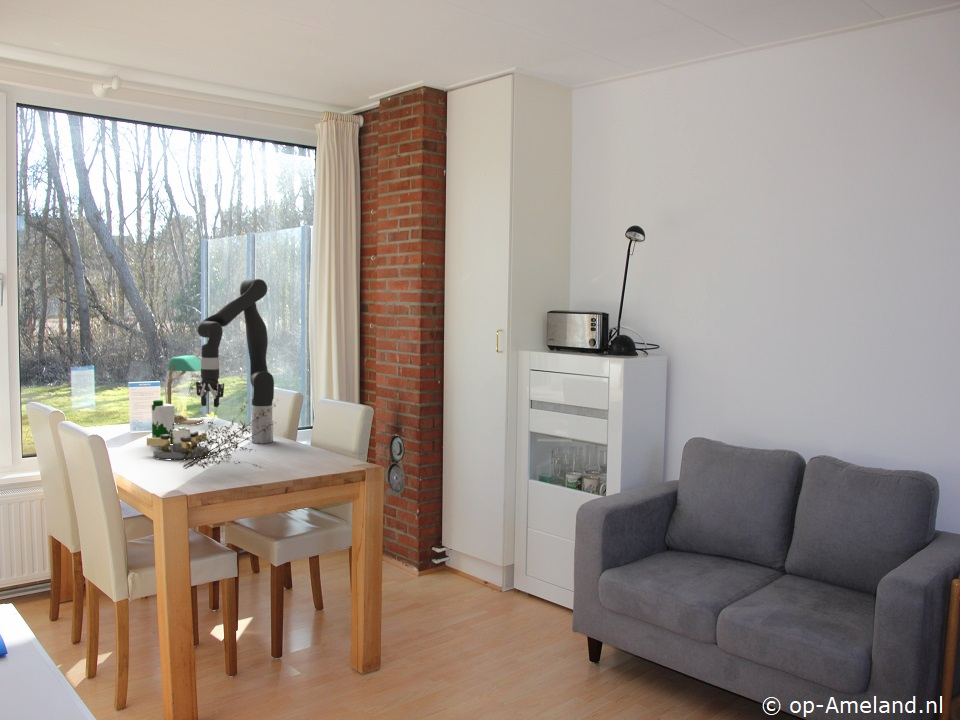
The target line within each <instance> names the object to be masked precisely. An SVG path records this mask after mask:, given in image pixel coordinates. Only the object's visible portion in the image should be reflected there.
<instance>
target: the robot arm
mask: <svg viewBox="0 0 960 720" xmlns="http://www.w3.org/2000/svg"><path fill="white" fill-rule="evenodd" d="M267 292H268V285H267V283H266V282H265V280H263V279H260V278H248V279H247V278H246V279H243V280H242V281H241V283H240V285H239V294H240V295H239V296H238V297H237V298H234V299H232V300H231V301H228V302H227V303H226V304H225V305H223V306H222V307H220V309H219V310H217V311H216V312H215V313H214V314H211V315H210V316H208V317H206V318H205V319H203V320H202V321H201V322H200V323H199V324H198V326H197V334H198V335H199V336H200V337H202V338H208V340H207V342H205V343H203V344H202V345H201V351H200V352H201V359H200V361H201V371H200V378H201V381H200V380H199V381H196V382H195V388H196V395H197V396H199V397H200V404H201V406H202V407H207V394H208V393H209V392H210V393H211V394H212V396H213V408H216V407H217V408H218V407H219V406H220V398H223V397H224V393H225V383H223V382H221V383H220V382H219V379H220V359H219V356H220V355H219V348H220V344H221V340H222V336H223V333H224V331H223V330H224V329H223V327H226V326H228V325H229V324H230V323H232V321H233V320H234V319H236V317H238V316H239V315H240V314H241V313H242V312H243V315H244V322H245V332H246V333H245V334H246V335H245V336H246V344H247V349H248V355H249V362H250V363H249V364H250V365H249V366H250V367H249V369H250V370H249V372H250V373H249V375H250V376H249V377H250V379H249V381H250V384H251V386H252V387H253V397H252V398H251V422H252V421H253V420H254V421H253V422H252V423H251V436H252V435H254V434H255V435H254V436H252V437H253V438H254V439H251V443H254V444H267V443H268V444H271V443H272V442H273V441H274V420H273V403H274V402H273V401H274V397H275V396H274V394H275V380H274V376H273V375H272V374H271V373H270V371H269V370H268V366H267V352H268V351H267V350H268V343H269V341H268V339H269V338H268V329H267V326H266V323H265V321H264V319H263V318H262V316H261V315H260V313H259V311H258V309H257V302H258V301H260V300H262V299H263V298H264V297H265V296H266V294H267ZM267 407H268V408H267ZM264 408H265V409H264ZM271 408H272V409H271ZM267 409H269V411H272V412H267ZM260 410H261V411H260ZM262 410H263V411H264V410H265V411H264V415H267V416H264V415H263V416H262V413H263V412H262ZM258 411H259V412H258ZM261 412H262V413H261ZM255 413H256V416H257V417H258V416H259V418H258V422H257V421H256V420H257V419H256V416H255ZM260 413H261V415H259V414H260ZM261 416H262V417H261ZM255 421H256V422H255ZM254 422H255V423H254ZM253 423H254V424H253ZM268 423H269V424H268ZM252 424H253V425H252ZM270 424H273V425H270ZM263 425H265V426H266V427H265V426H264V427H263ZM269 425H270V426H269ZM268 426H269V427H268ZM257 427H258V428H257ZM267 427H268V429H267ZM259 428H260V429H259ZM265 428H266V429H265ZM262 429H265V431H266V433H265V432H264V430H263V431H262ZM260 431H261V432H260ZM258 432H259V433H258ZM256 433H257V434H256ZM252 437H251V438H252Z"/></svg>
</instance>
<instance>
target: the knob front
mask: <svg viewBox="0 0 960 720" xmlns="http://www.w3.org/2000/svg"><path fill="white" fill-rule="evenodd" d="M170 438H171V434H162V435H160V438H152V437H146V446H147V447H154V446H155V447H157V446H159V447H160V448H161V450H170V446H171V445H170Z"/></svg>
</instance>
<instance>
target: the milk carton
mask: <svg viewBox="0 0 960 720" xmlns="http://www.w3.org/2000/svg"><path fill="white" fill-rule="evenodd" d="M152 402H153V403H152V404H151V405H150V407H151V435H152V436H151V438H160V435H162V434H171V438H170V444H173V429H175V424H174V414H175V405H174V404H172V403H171V404H167V403H164V401H163V400H162V399H160V400H159V399H157V400H153V401H152Z"/></svg>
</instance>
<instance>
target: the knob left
mask: <svg viewBox="0 0 960 720" xmlns="http://www.w3.org/2000/svg"><path fill="white" fill-rule="evenodd" d="M180 440H181V453H188V451H189V450H190V451H191V449H190V448H189V449H187V448H188V445H187V444H189V445H190V446H191V447H192V445H193V443H192V444H191V442H190V440H192V437H181V438H180Z"/></svg>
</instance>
